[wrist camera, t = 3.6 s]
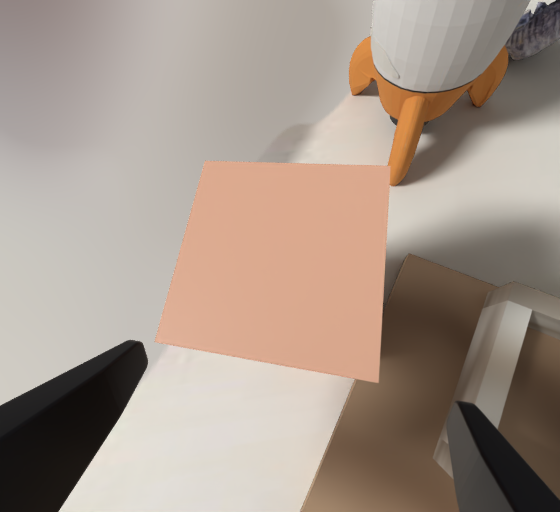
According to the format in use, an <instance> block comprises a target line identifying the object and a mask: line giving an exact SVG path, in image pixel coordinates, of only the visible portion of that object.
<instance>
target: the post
mask: <svg viewBox="0 0 560 512" xmlns="http://www.w3.org/2000/svg"><path fill="white" fill-rule="evenodd" d="M390 167H391V166H373V165H336V164H300V163H264V162H227V161H205V163H204V166H203V170H202V174H201V177H200V181H199V184H198V188H197V191H196V195H195V199H194V203H193V206H192V209H191V213H190V216H189V220H188V224H187V227H186V231H185V234H184V238H183V242H182V245H181V249H180V252H179V256H178V259H177V264H176V267H175V270H174V274H173V278H172V281H171V284H170V288H169V292H168V295H167V299H166V303H165V306H164V310H163V313H162V317H161V320H160V324H159V327H158V331H157V335H156V338H155V342H157V343H162V344H168V345H173V346H178V347H184V348H189V349H195V350H200V351H206V352H211V353H217V354H222V355H228V356H233V357H239V358H244V359H249V360H255V361H260V362H266V363H271V364H277V365H282V366H288V367H293V368H299V369H304V370H310V371H315V372H320V373H326V374H331V375H337V376H342V377H348V378H353V379H359V380H364V381H370V382H375V383H379V366H380V348H381V330H382V312H383V294H384V276H385V258H386V240H387V222H388V203H389V185H390Z"/></svg>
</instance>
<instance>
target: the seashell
mask: <svg viewBox="0 0 560 512" xmlns="http://www.w3.org/2000/svg"><path fill="white" fill-rule="evenodd" d="M558 39H560V0H556V1H555V2H553V3H551V4H549V5H547V4H546V3H545V2H538V4H537V7H536V9H535V12H534V14H532V13H531V10H527V11H525V12H524V13H523V15H522V17H521V18H520V20H519V22H518V24H517V25H516V27H515V29H514V31H513V32H512V34H511V36H510V37H509V39H508V40H507V42H506V43H505V47H506V49H507V52H508V55H510V56H511V58H513V60H520V59H524V58H527V57H530V56H532V55H534V54H537V53H538V52H540V51H541V50H543V49H544V48H546V47H548V46H549V45H551V44H552V43H554V42H555V41H557V40H558Z"/></svg>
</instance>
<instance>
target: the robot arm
mask: <svg viewBox="0 0 560 512" xmlns="http://www.w3.org/2000/svg"><path fill="white" fill-rule="evenodd" d="M147 365H148V358H147V355H146V352H145V348H144V345H143V343H142V342H140V341H135V340H128V341H126V342H124V343H122V344H120V345H118V346H116V347H114V348H112V349H110V350H108V351H106V352H104V353H102V354H100V355H98V356H97V357H94V358H92V359H90V360H89V361H87V362H84V363H83V364H81V365H79V366H77V367H75V368H73V369H71V370H69V371H67V372H65V373H63V374H61V375H59V376H57V377H55V378H53V379H51V380H49V381H48V382H45V383H44V384H42V385H40V386H38V387H36V388H34V389H32V390H30V391H28V392H26V393H24V394H22V395H20V396H18V397H16V398H14V399H12V400H10V401H8V402H6V403H4V404H2V405H1V406H0V512H59V510H60V508H61V507H62V505H63V504H64V502H65V501H66V499H67V498H68V496H69V495H70V493H71V492H72V490H73V489H74V487H75V485H76V484H77V482H78V481H79V479H80V478H81V476H82V475H83V473H84V472H85V470H86V469H87V467H88V466H89V464H90V462H91V461H92V459H93V458H94V456H95V455H96V453H97V452H98V450H99V449H100V447H101V446H102V444H103V442H104V441H105V439H106V438H107V436H108V435H109V433H110V432H111V430H112V429H113V427H114V426H115V424H116V423H117V421H118V419H119V418H120V416H121V414H122V413H123V411H124V409H125V407H126V406H127V404H128V402H129V400H130V398H131V396H132V394H133V393H134V391H135V389H136V387H137V385H138V383H139V381H140V379H141V378H142V376H143V374H144V372H145V370H146V368H147ZM446 429H447V437H448V444H449V451H450V458H451V465H452V472H453V479H454V486H455V492H456V498H457V503H458V507H459V512H560V499H559V498H558V497H557V496H556V495H555V494H554V493H553V491H552V490H551V489H550V488H549V487H548V486H547V485H546V484H545V482H544V481H543V480H542V479H541V478H540V477H539V476H538V474H537V473H536V472H535V471H534V470H533V469H532V468H531V467H530V465H529V464H528V463H527V462H526V461H525V460H524V459H523V457H522V456H521V455H520V454H519V453H518V452H517V451H516V450H515V448H514V447H513V446H512V445H511V444H510V443H509V442H508V441H507V439H506V438H505V437H504V436H503V435H502V434H501V433H500V431H499V430H498V429H497V428H496V427H495V426H494V425H493V424H492V422H491V421H490V420H489V419H488V418H487V417H486V416H485V414H484V413H483V412H482V411H481V410H480V409H479V408H478V407H477V406H476V405H475V404H473V403H471V402H465V401H460V400H456V401H455V402H454V403H453V406H452V408H451V411H450V414H449V416H448V419H447V423H446Z"/></svg>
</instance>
